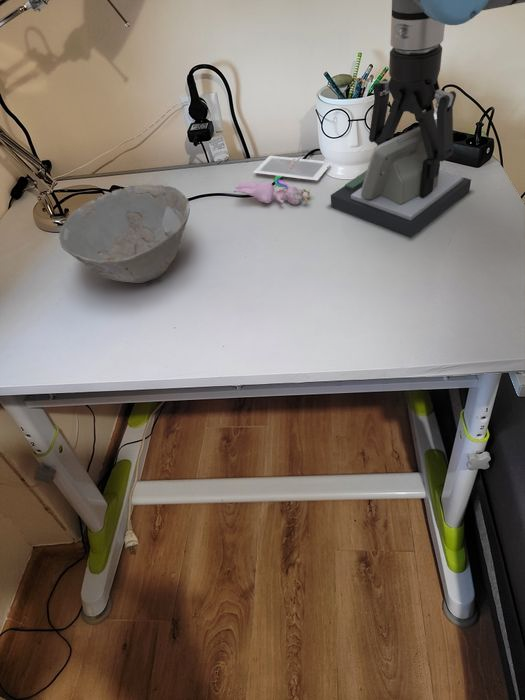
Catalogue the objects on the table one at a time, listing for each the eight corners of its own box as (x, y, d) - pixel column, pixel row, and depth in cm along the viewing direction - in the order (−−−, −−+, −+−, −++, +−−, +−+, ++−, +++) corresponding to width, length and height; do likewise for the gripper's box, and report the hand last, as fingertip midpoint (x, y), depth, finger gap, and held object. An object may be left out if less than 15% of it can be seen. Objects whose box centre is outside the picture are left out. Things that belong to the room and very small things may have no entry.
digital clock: (428, 166, 96) (434, 108, 88) (457, 186, 90) (466, 125, 82) (351, 191, 93) (350, 134, 86) (376, 213, 87) (377, 154, 79)
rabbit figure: (310, 199, 102) (238, 189, 104) (313, 171, 98) (237, 161, 100) (305, 216, 98) (230, 205, 100) (307, 188, 94) (229, 177, 96)
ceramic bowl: (91, 326, 82) (66, 277, 75) (75, 254, 98) (53, 208, 90) (220, 280, 86) (207, 230, 78) (184, 218, 101) (171, 171, 94)
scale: (469, 191, 94) (472, 175, 91) (410, 238, 86) (412, 221, 84) (389, 167, 104) (389, 152, 102) (331, 206, 97) (330, 191, 94)
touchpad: (317, 185, 103) (317, 175, 102) (253, 177, 109) (252, 167, 108) (332, 167, 108) (332, 157, 106) (270, 160, 114) (269, 150, 112)
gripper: (345, 46, 79) (348, 181, 96) (465, 63, 68) (444, 214, 84) (375, 31, 82) (373, 164, 99) (495, 45, 71) (469, 194, 87)
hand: (406, 187), depth 91 cm, fingers closed on digital clock, 8 cm apart
